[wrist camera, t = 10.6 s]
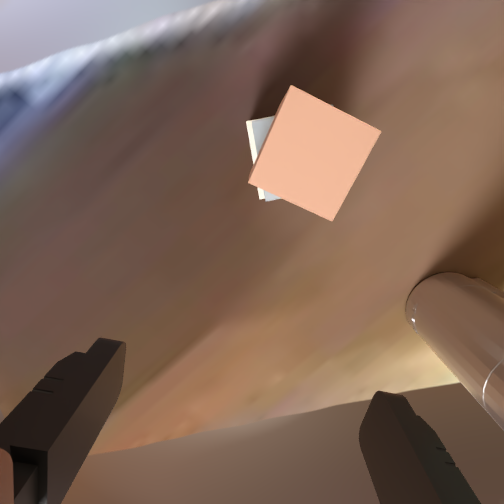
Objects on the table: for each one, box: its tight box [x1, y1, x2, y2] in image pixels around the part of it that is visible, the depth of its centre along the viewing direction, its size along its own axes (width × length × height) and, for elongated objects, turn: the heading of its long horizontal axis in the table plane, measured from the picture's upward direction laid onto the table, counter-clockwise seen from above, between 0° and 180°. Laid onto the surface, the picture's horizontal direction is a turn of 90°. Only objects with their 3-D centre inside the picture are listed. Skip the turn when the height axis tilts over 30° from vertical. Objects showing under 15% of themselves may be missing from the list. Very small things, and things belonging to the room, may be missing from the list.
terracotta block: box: [248, 85, 381, 221], centre depth 20 cm, size 6×6×6 cm
